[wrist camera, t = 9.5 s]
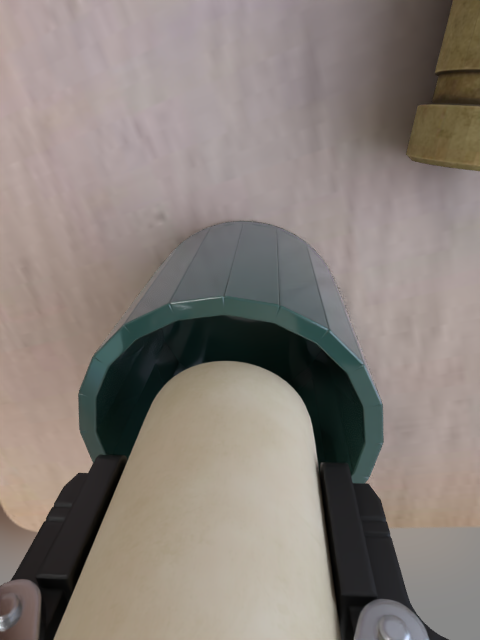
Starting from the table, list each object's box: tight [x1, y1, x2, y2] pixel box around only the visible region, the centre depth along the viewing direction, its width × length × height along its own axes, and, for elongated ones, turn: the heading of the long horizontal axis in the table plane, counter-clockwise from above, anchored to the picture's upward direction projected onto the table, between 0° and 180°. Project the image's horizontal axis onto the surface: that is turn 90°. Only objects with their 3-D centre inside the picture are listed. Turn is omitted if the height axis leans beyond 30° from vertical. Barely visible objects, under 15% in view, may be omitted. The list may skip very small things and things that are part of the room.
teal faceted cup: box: [78, 221, 384, 484], centre depth 19 cm, size 14×10×10 cm
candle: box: [54, 361, 341, 640], centre depth 10 cm, size 6×6×10 cm
